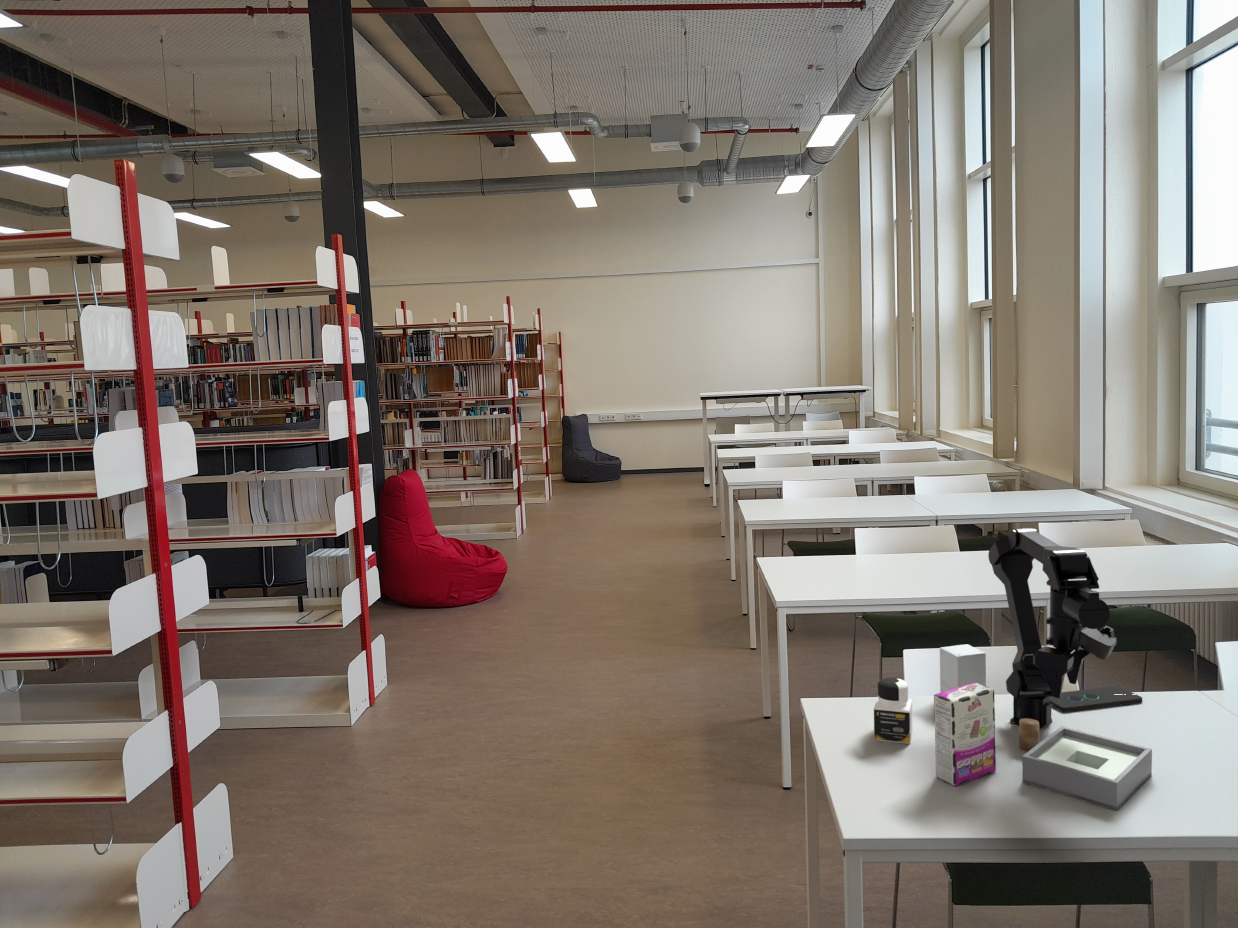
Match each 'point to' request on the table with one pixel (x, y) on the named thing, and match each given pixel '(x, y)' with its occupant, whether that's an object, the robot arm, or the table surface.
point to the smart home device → (1094, 699)
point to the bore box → (1087, 767)
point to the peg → (1028, 734)
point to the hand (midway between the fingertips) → (1065, 690)
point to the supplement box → (961, 666)
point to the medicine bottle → (893, 712)
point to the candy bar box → (965, 733)
